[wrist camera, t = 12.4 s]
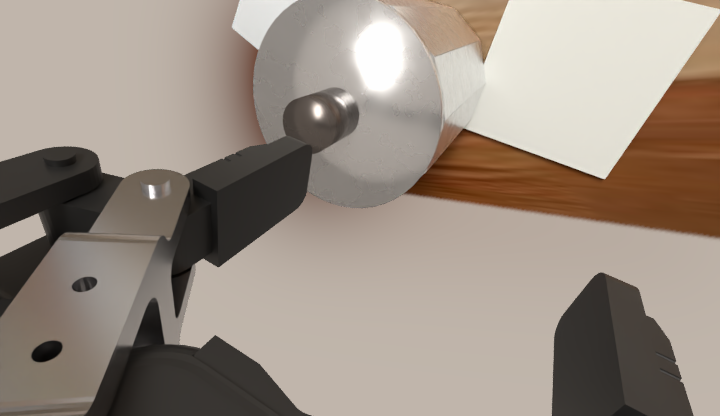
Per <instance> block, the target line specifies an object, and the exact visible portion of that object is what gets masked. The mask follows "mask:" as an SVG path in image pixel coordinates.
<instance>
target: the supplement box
mask: <svg viewBox="0 0 720 416" xmlns="http://www.w3.org/2000/svg"><path fill="white" fill-rule="evenodd" d="M296 1H298V0H240V1H239V5H238V8H237V11H236V15H235V18H234V21H233V24H232V28H233V29H234V30H235V31H236V32H237V33H239V34H240V35H241V36H242V37H244V38H245V39H246V40H247V41H248V42H250V43H251V44H252V45H253V46H254V47H256V48H257V49H258V50H259V48H260V45H261V42H262V40H263V38H264V36H265V34H266V32H267V30H268V29H269V27H270V26H271V24H272V23H273V22H274V20H275V19H276V18H277V17H278V16H279V15H280V14H281V13H282V11H283V10H285V9H286V8H287V7H289V6H290V5H291V4H292V3H294V2H296Z"/></svg>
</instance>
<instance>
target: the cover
mask: <svg viewBox="0 0 720 416" xmlns="http://www.w3.org/2000/svg"><path fill="white" fill-rule="evenodd" d="M485 83H486V79H485V71H484V63H483V55H482V47H481V41H480V39H479V38H478V37H477V35H476V34H475V33H474V32H473V30H472V29H471V28H470V27H469V25H468V24H467V23H466V22H465V20H464V19H463V18H462V17H461V16H460V14H459V13H458V12H457V11H456V9H455V8H452V7H449V6H445V5H442V4H438V3H435V2H431V1H428V0H298V1H296V2H294V3H292V4H291V5H290V6H289V7H287V8H286V9H285V10H283V11H282V13H281V14H280V15H279V16H278V17H277V18H276V19H275V20H274V22H273V23H272V24H271V26H270V27H269V29H268V30H267V32H266V34H265V36H264V38H263V40H262V42H261V45H260V48H259V51H258V54H257V58H256V63H255V68H254V77H253V93H254V104H255V109H256V114H257V119H258V122H259V125H260V128H261V131H262V133H263V136H264V138H265V141H266V143H267V144H269V143H271V142H273V141H276V140H278V139H280V138H282V137H284V136H290V137H293V138H295V139H297V140H300V141H302V142H304V143H306V144H309V145H310V146H311V147H312V152H313V153H312V161H311V167H310V174H309V181H308V187H307V191H308V192H309V193H311V194H313V195H314V196H317V197H318V198H320V199H322V200H324V201H327V202H330V203H332V204H336V205H339V206H344V207H350V208H366V207H374V206H378V205H382V204H385V203H387V202H390V201H392V200H394V199H396V198H397V197H399V196H401V195H402V194H404V193H405V192H406V191H407V190H409V189H410V188H411V187H412V186H413V185H414V184H415V183H416V182H417V181H418V179H419V178H420V177H421V176H422V175H423V174H424V173H426V172H427V171H428V169H429V168H430V167H431V166H432V165H433V164H434V162H435V161H436V160H437V159H438V158H439V156H440V155H441V154H442V153H443V152H444V151H445V149H446V148H447V147H448V146H449V145H450V143H451V142H452V141H453V140H454V139H455V138H456V136H457V135H458V134H459V133H460V132H461V130H462V129H463V128H464V127H465V126H466V125H467V123H468V122H469V121H470V120H471V118H472V115H473V113H474V110H475V108H476V106H477V103H478V101H479V98H480V96H481V93H482V91H483V88H484V86H485Z"/></svg>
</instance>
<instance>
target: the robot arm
mask: <svg viewBox="0 0 720 416" xmlns="http://www.w3.org/2000/svg"><path fill="white" fill-rule="evenodd" d="M312 153H313V152H312V147H311V146H310V145H309V144H306V143H304V142H302V141H300V140H297V139H295V138H293V137H290V136H284V137H282V138H280V139H278V140H276V141H273V142H271V143H269V144H264V145H257V146H250V147H248V148H245V149H243V150H241V151H239V152H236V154H232V155H229V156H227V157H225V159H220V160H218V161H216V162H213V163H211V164H209V165H206V166H204V167H202V168H200V169H197V170H196V171H193V172H190V173H188V174H186V175H182V174H180V173H178V172H175V171H171V170H164V169H151V170H144V171H139V172H136V173H133V174H131V175H129V176H127V177H126V178H122V177H118V176H114V175H109V174H105V173H102V172H101V167H100V163H99V158H98V156H97V155H96V154H95V153H94V152H92V151H90V150H88V149H84V148H79V147H53V148H47V149H42V150H39V151H35V152H32V153H29V154H25V155H22V156H19V157H15V158H12V159H9V160H5V161H2V162H0V229H2V228H4V227H7V226H9V225H11V224H14V223H16V222H18V221H21V220H23V219H25V218H28V217H30V216H33V215H35V214H37V213H39V216H40V219H41V222H42V224H43V227H44V230H45V233H46V236H44V237H41V238H39V239H37V240H35V241H33V242H31V243H29V244H27V245H25V246H23V247H20V248H18V249H16V250H14V251H12V252H10V253H8V254H6V255H4V256H1V257H0V416H311V415H308V414H305V413H303V412H301V411H300V410H298V409H297V408H296V407H295V405H294V404H293V403H292V402H291V401H290V400H289V398H288V397H287V396H286V395H285V394H284V393H283V391H282V390H281V389H280V388H279V387H278V385H277V384H276V383H275V382H274V381H273V380H272V378H271V377H270V376H269V375H268V374H267V372H265V370H264V369H263V368H262V367H261V365H260V364H258V363H257V362H255V361H254V360H252V359H251V358H249V357H248V356H246V355H245V354H243V353H242V352H240V351H239V350H237V349H235V348H234V347H232V346H231V345H229V344H228V343H226V342H225V341H223V340H222V339H220V338H219V337H217V336H216V335H215V336H214V337H213V338H212V339H211V340H209V342H207V343H206V344H205V345H204V346H203V347H202V348H201V349H200V348H197V347H191V346H186V345H179V341H180V333H181V327H182V323H183V319H184V315H185V311H186V307H187V303H188V299H189V295H190V291H191V287H192V283H193V279H194V275H195V263H197V262H198V261H200V260H201V259H203V258H204V259H205V260H207V261H208V262H210V263H212V264H213V265H215V266H217V267H220V266H221V265H222V264H224V263H225V262H226V261H227V260H229V259H230V258H232V257H233V256H234V255H236V254H237V253H238V252H240V251H241V250H242V249H244V248H245V247H246V246H247V245H249V244H250V243H252V242H253V241H255V240H256V239H257V238H259V237H260V236H261V235H262V234H264V233H265V232H266V231H268V230H269V229H270V228H272V227H273V226H275V225H276V224H277V223H279V222H280V221H281V220H283V219H284V218H285V217H287V216H288V215H289V214H291V213H292V212H293V211H295V210H296V209H297V208H298V207H299V206H300V205H301V203H302V202H303V200H304V198H305V196H306V193H307V187H308V181H309V174H310V167H311V161H312ZM675 362H676V359H675V356H674V353H673V350H672V346H671V343H670V341H669V339H668V338H667V336H666V335H665V334H664V332H663V331H662V330H661V328H660V327H659V325H658V324H657V323H656V321H655V320H654V319H653V318H651V317H648V316H646V314H645V311H644V307H643V303H642V299H641V296H640V292H639V290H638V288H636V287H634V286H632V285H630V284H628V283H625V282H623V281H621V280H618V279H616V278H614V277H611V276H609V275H607V274H604V273H598V274H597V275H595V276H594V277H593V278H592V280H591V281H590V282H589V283H588V284H587V286H586V287H585V288H584V289H583V291H582V292H581V293H580V294H579V296H578V297H577V298H576V299H575V300H574V302H573V303H572V304H571V305H570V307H569V308H568V309H567V311H566V312H565V313H564V314H563V316H562V317H561V319H560V321H559V323H558V325H557V328H556V331H555V337H554V365H553V398H552V416H693V413H692V409H691V406H690V403H689V400H688V397H687V394H686V391H685V387H684V384H683V383H682V382H680V380H681V375H680V372H679V368H678V365H676V364H675Z"/></svg>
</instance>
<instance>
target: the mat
mask: <svg viewBox="0 0 720 416" xmlns="http://www.w3.org/2000/svg"><path fill="white" fill-rule="evenodd" d="M719 14H720V9H716V8H712V7H707V6H703V5H699V4H695V3H691V2H687V1H682V0H509V2H508V4H507V7H506V9H505V12H504V14H503V17H502V19H501V22H500V25H499V27H498V30H497V32H496V35H495V37H494V40H493V42H492V45H491V47H490V50H489V52H488V55H487V58H486V60H485V63H484V71H485V79H486V83H485V86H484V88H483V91H482V93H481V96H480V98H479V101H478V103H477V106H476V108H475V110H474V113H473V115H472V118H471V120H470V121H469V122H468V123H467V125H466V126H465V127H464V128H465V129H467V130H470V131H473V132H476V133H478V134H481V135H484V136H487V137H489V138H492V139H495V140H498V141H500V142H503V143H506V144H509V145H511V146H514V147H517V148H520V149H522V150H525V151H528V152H531V153H533V154H536V155H539V156H542V157H544V158H547V159H550V160H553V161H555V162H558V163H561V164H564V165H566V166H569V167H572V168H575V169H577V170H580V171H583V172H586V173H588V174H591V175H594V176H597V177H599V178H602V179H605V178H606V177H607V175H608V174H609V173H610V171H611V170H612V168H613V167H614V165H615V164H616V163H617V161H618V160H619V158H620V157H621V155H622V154H623V152H624V151H625V150H626V148H627V147H628V145H629V144H630V142H631V141H632V139H633V138H634V137H635V135H636V134H637V132H638V131H639V129H640V128H641V126H642V125H643V124H644V122H645V121H646V119H647V118H648V116H649V115H650V114H651V112H652V111H653V109H654V108H655V106H656V105H657V103H658V102H659V101H660V99H661V98H662V96H663V95H664V93H665V92H666V90H667V89H668V88H669V86H670V85H671V83H672V82H673V80H674V79H675V77H676V76H677V75H678V73H679V72H680V70H681V69H682V67H683V66H684V65H685V63H686V62H687V60H688V59H689V57H690V56H691V54H692V53H693V52H694V50H695V49H696V47H697V46H698V44H699V43H700V41H701V40H702V39H703V37H704V36H705V34H706V33H707V31H708V30H709V28H710V27H711V26H712V24H713V23H714V21H715V20H716V18H717V17H718V15H719Z"/></svg>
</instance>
